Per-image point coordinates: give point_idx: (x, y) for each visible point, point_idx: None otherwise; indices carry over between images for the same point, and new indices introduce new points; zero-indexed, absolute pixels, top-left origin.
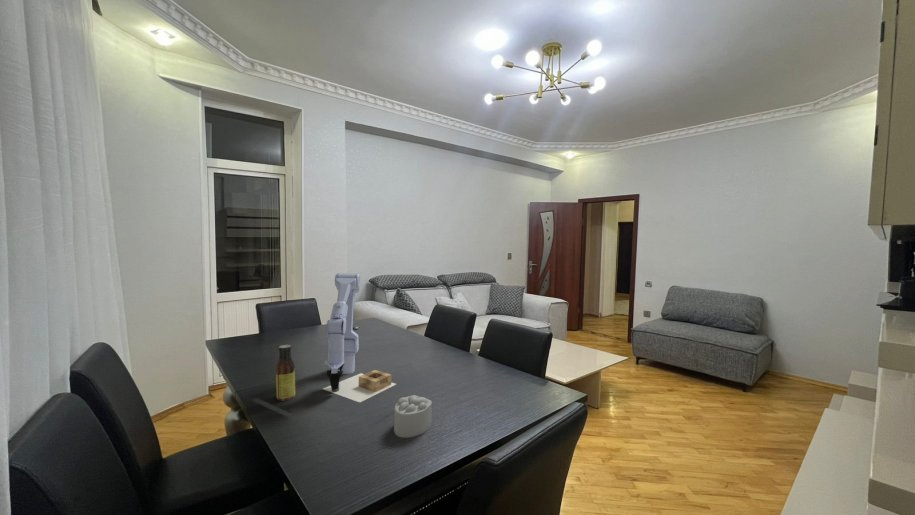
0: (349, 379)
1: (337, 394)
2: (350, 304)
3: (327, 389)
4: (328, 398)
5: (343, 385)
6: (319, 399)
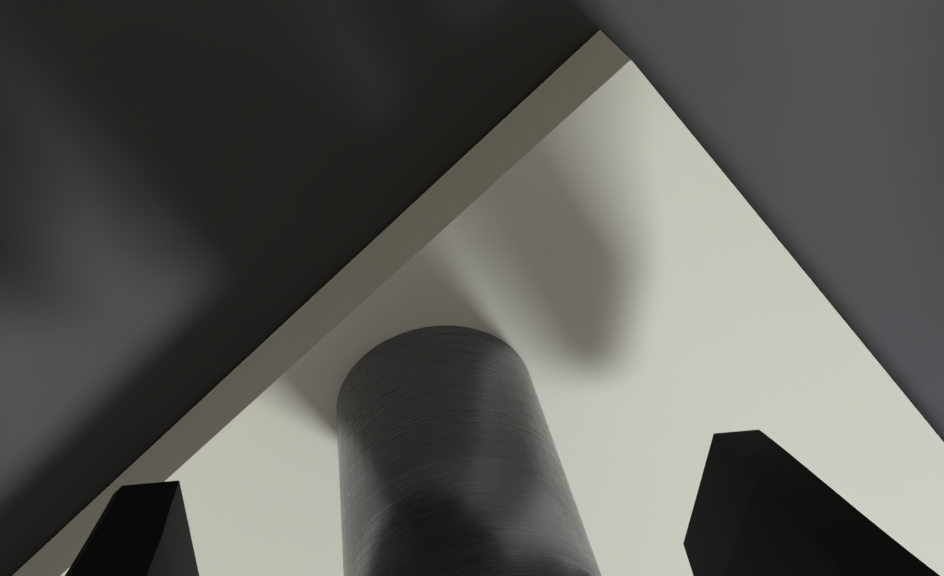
0: (941, 551)
1: (160, 481)
2: None
3: (540, 214)
4: (126, 245)
5: (677, 507)
6: (47, 5)
